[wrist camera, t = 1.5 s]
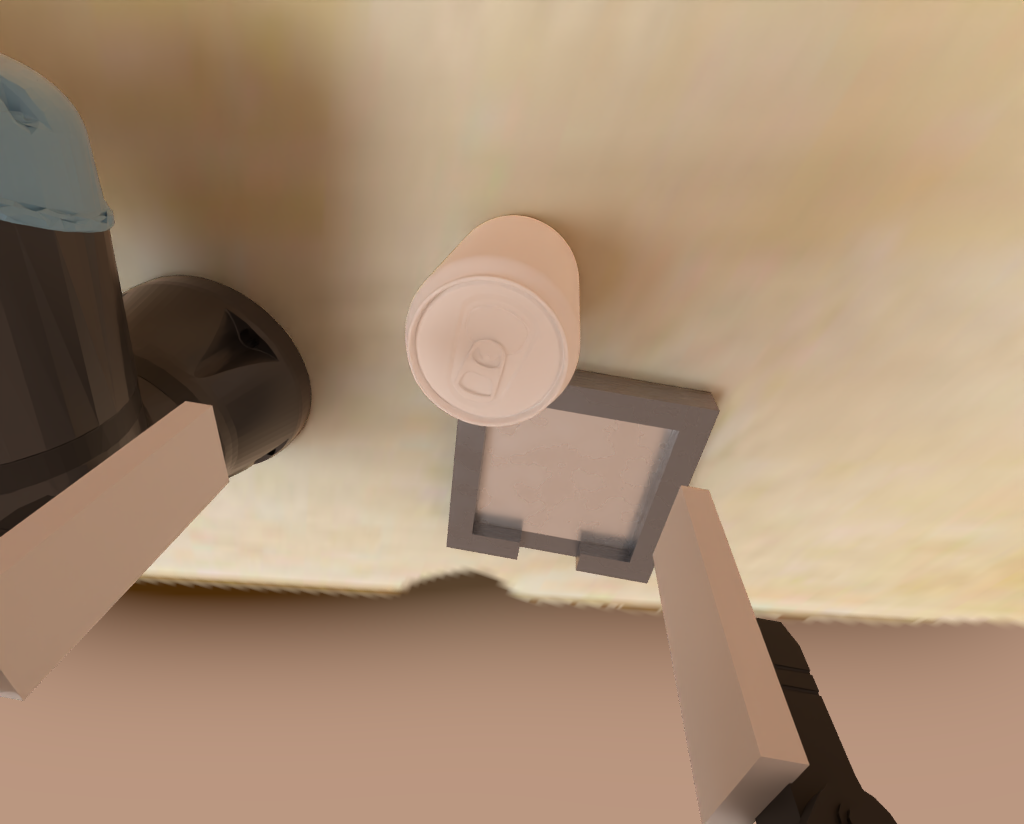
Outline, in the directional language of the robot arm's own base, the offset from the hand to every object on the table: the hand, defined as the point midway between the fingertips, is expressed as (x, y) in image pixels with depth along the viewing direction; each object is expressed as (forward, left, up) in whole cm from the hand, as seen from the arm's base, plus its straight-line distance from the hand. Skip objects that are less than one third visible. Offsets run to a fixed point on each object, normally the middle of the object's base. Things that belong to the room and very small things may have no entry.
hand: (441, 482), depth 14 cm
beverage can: (0, 0, -21) cm, 21 cm away
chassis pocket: (+6, -14, -21) cm, 26 cm away
